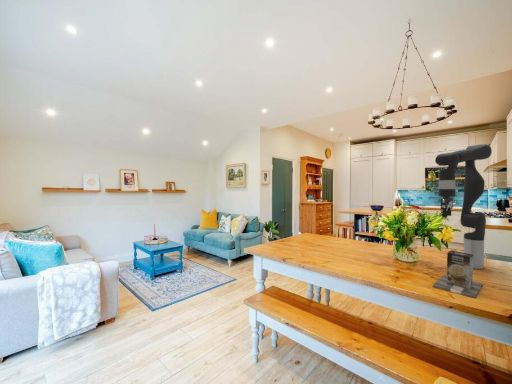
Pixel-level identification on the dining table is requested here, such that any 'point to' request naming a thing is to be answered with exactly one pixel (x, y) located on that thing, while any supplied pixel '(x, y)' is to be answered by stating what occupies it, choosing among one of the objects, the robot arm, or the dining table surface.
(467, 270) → the coffee box
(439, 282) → the grey white flat rectangle
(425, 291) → the dining table surface
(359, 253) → the dining table surface
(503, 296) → the dining table surface
